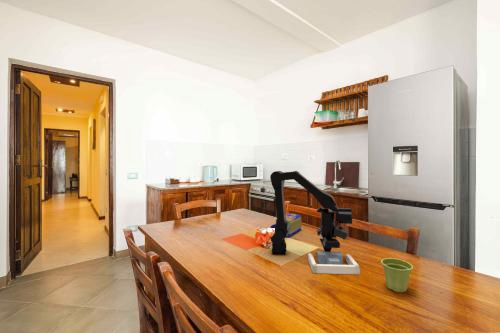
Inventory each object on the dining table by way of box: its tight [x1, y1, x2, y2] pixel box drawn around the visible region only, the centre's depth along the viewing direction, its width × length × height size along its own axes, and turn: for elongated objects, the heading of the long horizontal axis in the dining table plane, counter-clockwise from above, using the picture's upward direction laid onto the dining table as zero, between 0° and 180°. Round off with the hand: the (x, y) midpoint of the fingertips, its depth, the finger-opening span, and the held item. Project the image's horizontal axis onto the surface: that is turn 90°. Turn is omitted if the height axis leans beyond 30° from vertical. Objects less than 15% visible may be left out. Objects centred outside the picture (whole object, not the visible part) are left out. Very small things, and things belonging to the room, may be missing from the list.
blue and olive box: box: [270, 213, 303, 238], centre depth 148 cm, size 10×25×10 cm, turn 145°
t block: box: [316, 250, 344, 265], centre depth 103 cm, size 10×10×4 cm
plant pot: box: [380, 257, 414, 293], centre depth 84 cm, size 9×9×9 cm
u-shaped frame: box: [307, 253, 361, 275], centre depth 102 cm, size 18×12×3 cm
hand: (327, 256), depth 110 cm, fingers closed
